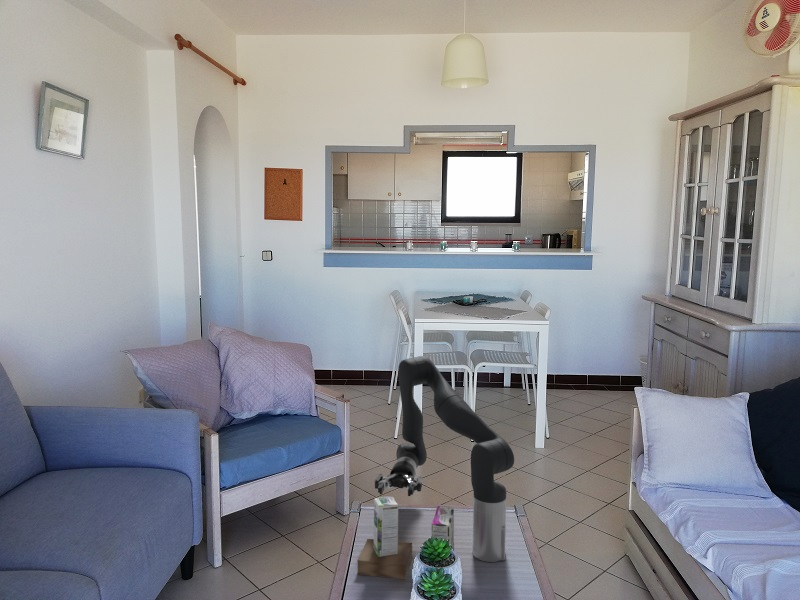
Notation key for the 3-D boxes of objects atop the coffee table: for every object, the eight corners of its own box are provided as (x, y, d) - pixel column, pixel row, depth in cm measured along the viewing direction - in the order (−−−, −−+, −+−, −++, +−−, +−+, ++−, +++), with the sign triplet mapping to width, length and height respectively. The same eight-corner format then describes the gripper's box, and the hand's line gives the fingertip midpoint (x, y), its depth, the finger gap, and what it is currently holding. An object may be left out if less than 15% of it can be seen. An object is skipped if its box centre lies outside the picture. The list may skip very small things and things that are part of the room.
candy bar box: (436, 561, 174) (437, 505, 172) (454, 562, 173) (455, 506, 171) (430, 582, 163) (431, 523, 161) (449, 585, 162) (450, 525, 160)
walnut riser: (412, 556, 176) (412, 542, 176) (405, 579, 164) (405, 564, 164) (367, 551, 178) (367, 538, 178) (357, 574, 167) (357, 560, 166)
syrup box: (372, 547, 173) (372, 497, 172) (393, 544, 175) (393, 495, 173) (377, 557, 168) (377, 506, 166) (398, 554, 169) (399, 503, 168)
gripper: (381, 459, 199) (371, 478, 183) (425, 461, 197) (418, 481, 181) (382, 481, 200) (371, 502, 184) (425, 484, 197) (418, 506, 181)
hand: (394, 492), depth 182 cm, fingers open, 8 cm apart
